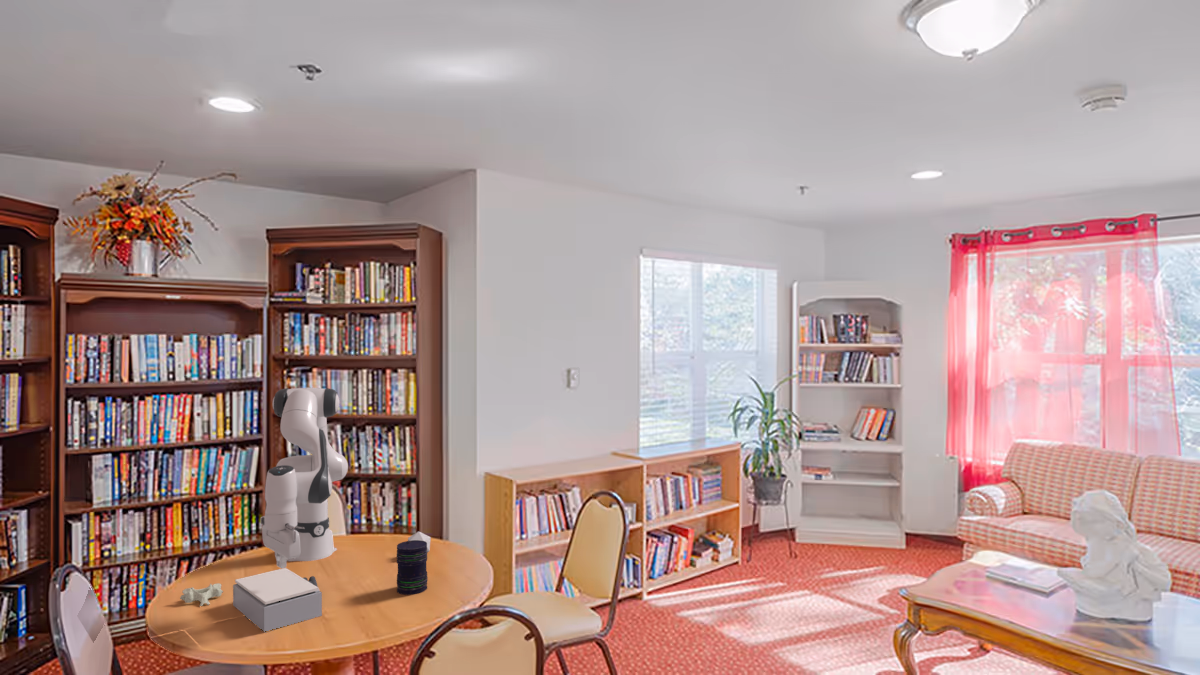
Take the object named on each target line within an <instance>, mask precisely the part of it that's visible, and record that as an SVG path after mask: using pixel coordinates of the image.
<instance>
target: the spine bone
mask: <svg viewBox="0 0 1200 675" xmlns="http://www.w3.org/2000/svg"><path fill="white" fill-rule="evenodd" d="M222 593H224V591H223V590H222V584H221V583H214V584H213V583H209V585H208V586H207V587H203V588H199V589H197V588H194V587H189V588H185V589H183V590H182V595H180V597H179V600H181V601H184V602H185V603H186V604H190V603H193V602H195V601H199V602H200V604H199V607H200V606H203V605H204V604H206V605H207V606H210V605H211V603H210V601H209V599H212V598H216V597H217V598H218V597H221V596H222ZM209 604H210V605H209Z"/></svg>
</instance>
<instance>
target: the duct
mask: <svg viewBox="0 0 1200 675" xmlns="http://www.w3.org/2000/svg"><path fill="white" fill-rule="evenodd" d="M232 594H233V595H232V597H233V598H232V601H233V602H232V605H233V607H234V608H236V609H237V611H239V612H241V613H242V615H245V616H246V617H247V618H248V619H250V620H251V621H252V622H253V623H254V624H256V625H257V626H258V627H259V628H260V629H262V630H263V631H264V632H265V631H269V630H272V629H275V630H277V629H276V628H279V629H281V628H280V627H282V628H284V627H283V626H285V627H288V626H287V625H289V626H292V625H295V624H298V622H299V623H302V622H305V621H308V620H312V619H314V618H315V617H316V618H320V617H322V616H323V608H322V607H323V604H322V603H323V596H322V595H323V594H322V591H320V589H319V590H318V591H314V592H311V593H307V594H303V595H300V596H296V597H292V598H289V599H285V600H282V601H280V602H279V601H278V602H274V603H270V604H266V605H265V604H264V603H262V602H261V601H260V600H258V599H257V598H256V597H254V596H253V595H252V594H250V593H249V592H248V591H246V590H245V589H244V588H242V587H241V586H239V585H238V584H237V583H235V584H233V585H232ZM246 617H245V618H246ZM247 618H246V619H247ZM248 619H247V620H248ZM304 620H305V621H304ZM251 621H250V622H251ZM301 621H302V622H301ZM252 622H251V623H252ZM253 623H252V624H253ZM294 623H295V624H294ZM254 624H253V625H254ZM291 624H292V625H291ZM256 625H255V626H256ZM257 626H256V627H257ZM258 627H257V628H258ZM259 628H258V629H259ZM260 629H259V630H260ZM262 630H261V631H262ZM263 631H262V632H263ZM272 631H273V630H272ZM264 632H263V633H264ZM269 632H270V631H269ZM265 633H266V632H265Z"/></svg>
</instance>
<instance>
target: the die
mask: <svg viewBox="0 0 1200 675" xmlns="http://www.w3.org/2000/svg"><path fill="white" fill-rule="evenodd" d="M431 538H432V537H431V536H429V535H427V534H425V533H423V532H421V531H417V532H415V533H413V534H412V535H410V536H408V538H407V541H412V540H420V541H425V542H427V553H429V552H430V549H431Z"/></svg>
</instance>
